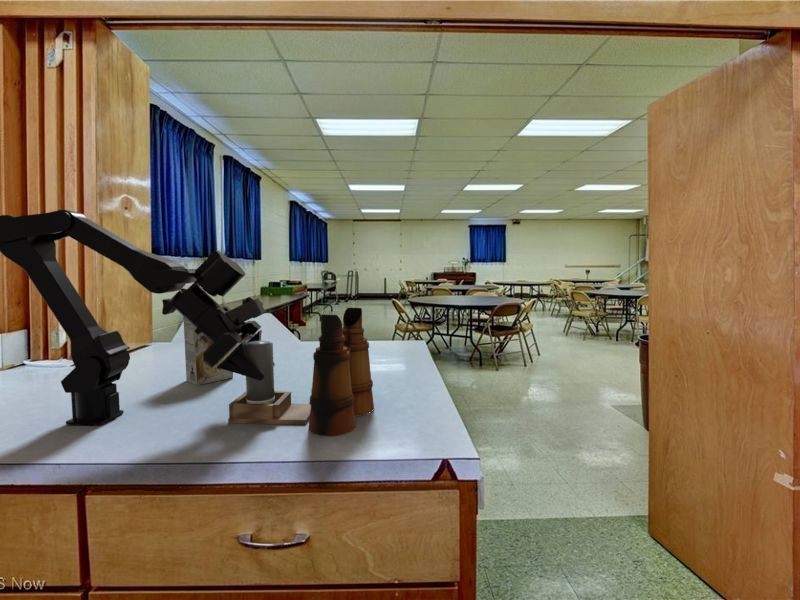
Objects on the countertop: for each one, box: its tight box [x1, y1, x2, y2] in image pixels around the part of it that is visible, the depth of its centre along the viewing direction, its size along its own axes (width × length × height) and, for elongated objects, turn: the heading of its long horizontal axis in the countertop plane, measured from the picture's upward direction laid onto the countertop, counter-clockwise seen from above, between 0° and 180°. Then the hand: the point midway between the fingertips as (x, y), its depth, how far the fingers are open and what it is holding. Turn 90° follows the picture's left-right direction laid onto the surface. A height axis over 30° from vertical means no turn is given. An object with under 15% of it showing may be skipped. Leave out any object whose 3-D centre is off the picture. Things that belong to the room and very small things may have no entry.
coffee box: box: [182, 315, 234, 386], centre depth 107 cm, size 9×6×16 cm
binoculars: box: [308, 307, 375, 437], centre depth 81 cm, size 18×8×20 cm, turn 164°
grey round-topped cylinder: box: [245, 340, 275, 404], centre depth 82 cm, size 5×5×13 cm
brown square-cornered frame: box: [227, 390, 311, 425], centre depth 82 cm, size 14×9×3 cm, turn 88°
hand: (268, 372), depth 82 cm, fingers open, 9 cm apart
